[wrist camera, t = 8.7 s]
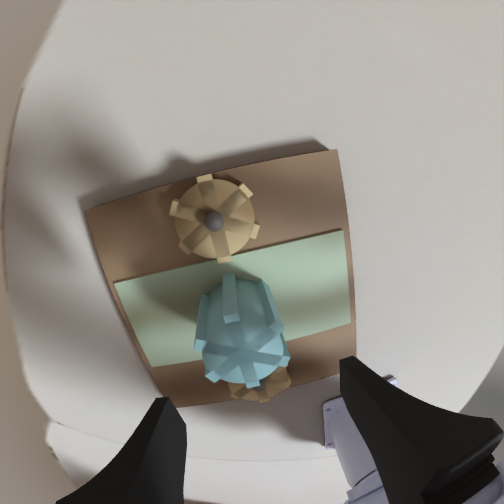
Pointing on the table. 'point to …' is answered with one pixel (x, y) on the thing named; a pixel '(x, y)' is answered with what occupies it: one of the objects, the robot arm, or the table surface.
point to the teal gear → (240, 332)
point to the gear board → (234, 268)
